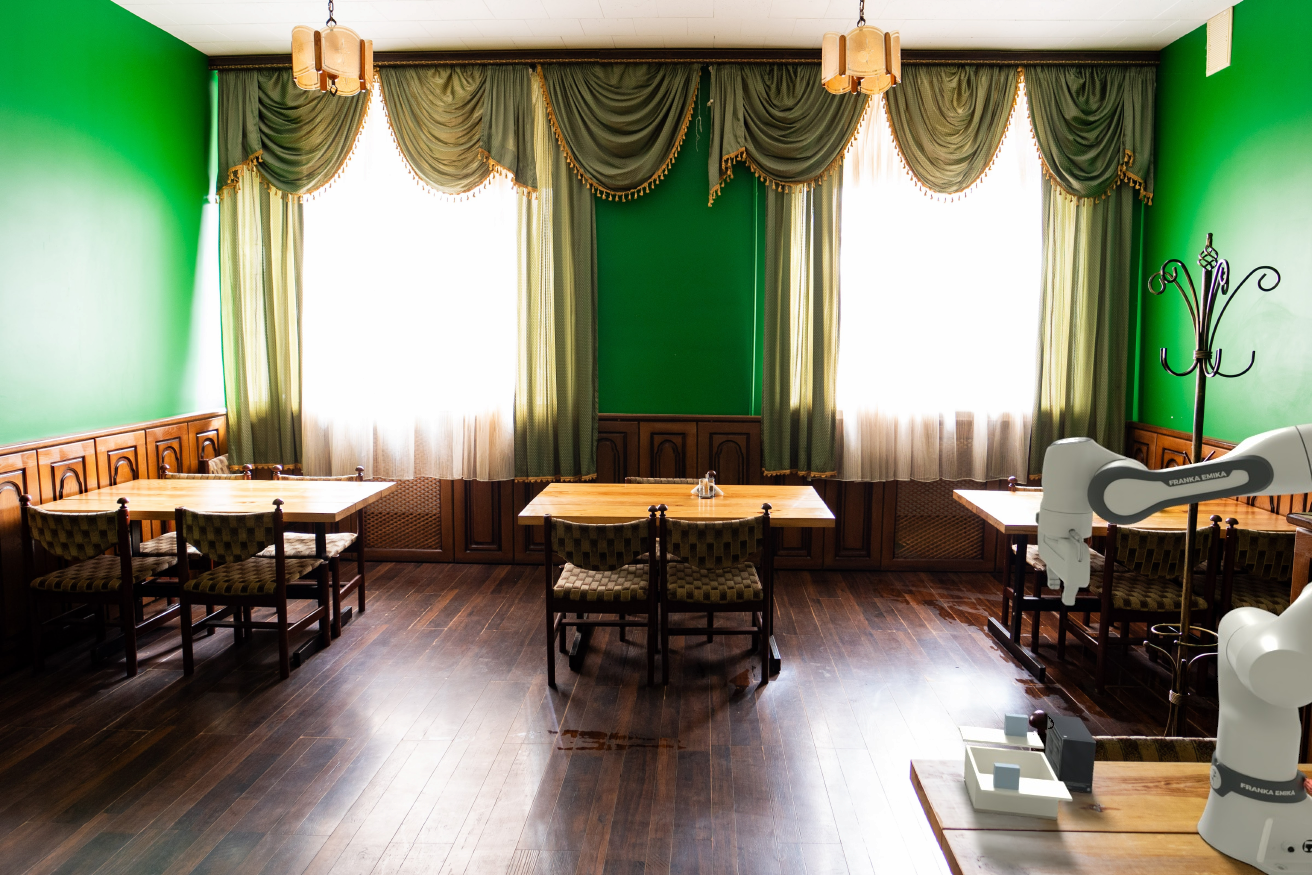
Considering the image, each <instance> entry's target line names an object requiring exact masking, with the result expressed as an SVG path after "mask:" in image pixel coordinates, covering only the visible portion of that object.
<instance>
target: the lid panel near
mask: <svg viewBox="0 0 1312 875" xmlns="http://www.w3.org/2000/svg"><path fill="white" fill-rule="evenodd" d="M975 776H976V779H977V782H978V784H979V787H980V790H981V792H985V793H995V794H1004V795H1014V796H1024V797H1033V798H1043V799H1053V800H1059V801H1064V802H1073V797H1072V795H1071V794H1070V792H1069V790H1067V788H1066V786H1065V784H1064V782H1061V781H1051V780H1041V779H1031V778H1021V777H1020V767H1019V765H1014V764H1004V763H994V772H993V775H990V774H980V773H976V774H975Z"/></svg>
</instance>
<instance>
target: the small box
mask: <svg viewBox="0 0 1312 875" xmlns="http://www.w3.org/2000/svg"><path fill="white" fill-rule="evenodd" d="M1048 716H1049V717H1050V718H1051V719H1052V720H1053V722H1054V726H1053V723H1052V722H1051V719H1049V717H1048ZM1052 726H1053V728H1052V729H1048V728H1050V727H1052ZM1046 727H1047V728H1046V739H1045V748H1044V749H1045V753H1044V755H1045V757H1046V758H1047V760H1048V762H1049V764H1050V766H1051V768H1052V770H1053V772H1054V773H1055V775H1056V777H1057V779H1058V781H1061V782H1064V784H1065V786H1066V788H1067V790H1068V792H1069V791H1070V792H1079V793H1087V794H1092V792H1093V783H1094V782H1093V781H1094V769H1095V768H1094V767H1095V758H1096V757H1095V756H1096V746H1097V742H1096V739H1095V738H1094V737H1093V736H1092V734H1091V733H1090V731H1089V730H1088V728H1087V727H1086V725H1085V724H1084V722H1083V721H1082V719H1081V718H1080V717H1076V716H1066V715H1060V714H1059V715H1058V714H1050V713H1048V714H1047V725H1046Z"/></svg>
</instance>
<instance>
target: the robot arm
mask: <svg viewBox="0 0 1312 875" xmlns="http://www.w3.org/2000/svg"><path fill="white" fill-rule="evenodd" d="M1041 474H1042V475H1041V488H1042V493H1043V494H1042V499H1041V501H1040V505H1039V511H1037V512H1036V513H1035V523H1036V524H1037V550H1038V551H1037V552H1038V556H1039V558H1040V559H1041V560H1042V562H1044V563H1045V564H1046V567H1045V568H1046V574H1047V586H1048V587H1049V589H1051V590H1059V589H1060V586H1061V580H1062V581H1063V586H1064V589H1063V592H1062V594H1061V601H1062V603H1063V604H1064V605H1065V606H1074V605H1075V603H1076V602H1075V601H1076V595H1077V594H1078V591H1079V588H1086V587H1088V585H1089V583H1090V581H1091V578H1090V575H1091V553H1090V552H1091V550H1090V548H1089V546H1088V544H1087V543H1086V542H1084V539H1087V538H1090V537H1092V531H1093V520H1094V519H1093V518H1094V514H1096V516H1097V517H1099V518H1100V519H1102V520H1103V521H1106V523H1107V522H1108V523H1110V524H1114V525H1118V526H1128V525H1134V524H1138V523H1139V522H1142V521H1144V520H1145V519H1147V518H1149V517H1151V516H1153V515H1155V514H1157V513H1158V512H1160V511H1162V510H1166V509H1168V508H1174V507H1179V506H1187V505H1191V504H1197V503H1202V502H1208V501H1209V502H1210V501H1214V500H1221V499H1228V498H1234V497H1255V496H1259V497H1260V496H1282V495H1283V496H1284V495H1286V496H1287V495H1296V494H1297V495H1298V494H1306V493H1312V422H1311V423H1310V422H1309V423H1303V424H1297V425H1296V424H1295V425H1291V426H1286V427H1280V428H1279V427H1278V428H1275V429H1271V430H1268V431H1264V432H1261V433H1258V434H1255V435H1252V436H1249V437H1246V438H1245V439H1243V440H1242V441H1241V442H1240V443H1239V444H1238V445H1237V446H1236V447H1234V448H1233V449H1232V450H1231V451H1229V452H1227V453H1226V454H1224V455H1221V456H1219V457H1217V458H1214V459H1211V460H1207V461H1202V462H1198V463H1197V462H1196V463H1191V464H1186V465H1180V466H1179V465H1178V466H1175V467H1168V468H1162V469H1154V470H1153V469H1149V468H1148V467H1147V466H1146V465H1145V464H1143V463H1141V462H1140V461H1139V460H1136V459H1134V458H1129V457H1126V456H1124V455H1121V454H1118V453H1115V452H1113V451H1111V450H1110V449H1107V448H1105V447H1104V446H1102V445H1100V444H1098V443H1097V442H1096V441H1095V440H1094V439H1093V438H1090V437H1084V436H1083V437H1077V436H1076V437H1067V438H1062V439H1058V440H1056V441H1053V442H1052V443H1051V444H1050V445H1049V446H1047V448H1046V451H1045V454H1044V459H1043V465H1042V473H1041ZM1217 638H1218V639H1217V643H1218V645H1217V676H1218V677H1217V681H1218V682H1217V683H1218V701H1219V702H1218V704H1219V708H1218V710H1219V711H1218V727H1217V736H1216V748H1215V750H1214V751H1213V753H1212V758H1211V766H1210V770H1209V771H1210V772H1209V780H1210V781H1209V785H1210V790H1209V794H1208V796H1207V797H1208V798H1207V802H1206V805H1205V807H1204V810H1203V813H1202V815H1201V817H1200V819H1199V821H1198V823H1197V824H1196V827H1197V832H1198V833H1199V835H1200V836H1201V837H1202V839H1204V840H1205V841H1206V843H1208V844H1209V845H1210V846H1211V847H1213V848H1214V849H1215V850H1218V851H1219V852H1221V853H1223V854H1225V855H1227V856H1229V857H1231V858H1233V859H1236V860H1238V861H1241V862H1244V863H1246V864H1248V865H1252V866H1253V867H1255V868H1256V869H1258V870H1260V871H1262V872H1263V873H1265V874H1268V875H1312V796H1311V795H1312V779H1309V778H1308V776H1307V774H1305V773H1304V772H1303V771H1301V770H1300V769H1298V766H1299V765H1298V764H1299V756H1300V755H1299V754H1300V745H1301V737H1302V724H1301V721H1300V712H1299V708H1301V707H1304V706H1307V705H1309V704H1311V703H1312V581H1311V582H1309V583H1308V584H1307V585H1305V586H1304V587H1303V589H1302V591H1301V593H1300V595H1299V596H1298V597H1297V598H1296V599H1295V600H1294V602H1293V603H1291V604H1290V606H1288V607H1287V608H1286V609H1285V610H1284V611H1282V613H1280V615H1279V616H1278V615H1276V614H1274V613H1272V612H1270V611H1268V610H1264V609H1261V608H1258V607H1253V606H1244V607H1243V606H1242V607H1238V608H1235V609H1233V610H1230V611H1229V612H1227V613H1226V614H1225V615H1224V616H1223V617H1222V618H1221V620H1220V621H1219V625H1218V631H1217ZM1307 791H1308V792H1307Z"/></svg>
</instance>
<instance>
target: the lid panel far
mask: <svg viewBox="0 0 1312 875" xmlns="http://www.w3.org/2000/svg"><path fill="white" fill-rule="evenodd" d="M1028 725H1029V716H1028V715H1027V714H1019V713H1009V712H1007V713H1006V712H1005V713H1004V727H1003V729H999V728H998V729H997V728H989V727H988V728H986V727H975V726H962V725H958V730H959V734H960V736H961V738H962V741H963V742H965V743H966V742H967V743H975V744H976V743H978V744H988V745H998V746H1007V747H1008V746H1010V747H1021V748H1030V749H1031V748H1032V749H1043V750H1044V749H1045V746H1044V743H1043V742H1042V740H1041V738H1040V735H1038V732H1033V731H1032V732H1031V731H1030V732H1029V731H1028V730H1029V726H1028ZM1033 734H1034V735H1033Z"/></svg>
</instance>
